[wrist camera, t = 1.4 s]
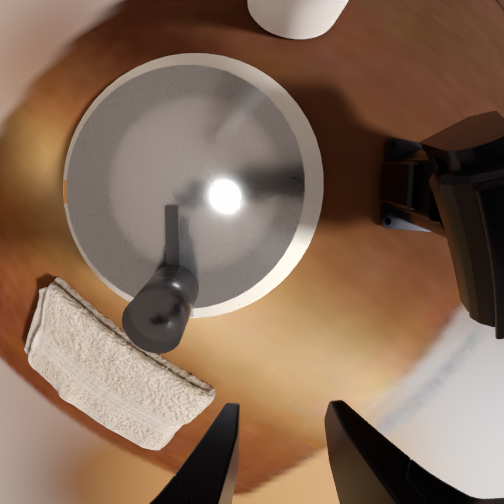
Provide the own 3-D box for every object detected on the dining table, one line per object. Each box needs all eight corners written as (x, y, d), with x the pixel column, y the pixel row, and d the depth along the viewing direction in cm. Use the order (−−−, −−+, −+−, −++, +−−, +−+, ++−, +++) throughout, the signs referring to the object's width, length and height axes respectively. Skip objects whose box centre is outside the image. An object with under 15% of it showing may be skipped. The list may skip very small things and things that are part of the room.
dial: (82, 87, 15) (26, 65, 9) (303, 74, 16) (329, 31, 9) (87, 291, 19) (40, 333, 13) (292, 302, 20) (309, 359, 13)
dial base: (321, 65, 17) (327, 56, 15) (306, 311, 22) (311, 323, 20) (80, 78, 16) (67, 72, 15) (85, 299, 21) (75, 308, 20)
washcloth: (56, 266, 21) (35, 278, 18) (222, 383, 24) (220, 407, 21) (31, 347, 24) (16, 362, 21) (164, 438, 27) (159, 458, 24)
